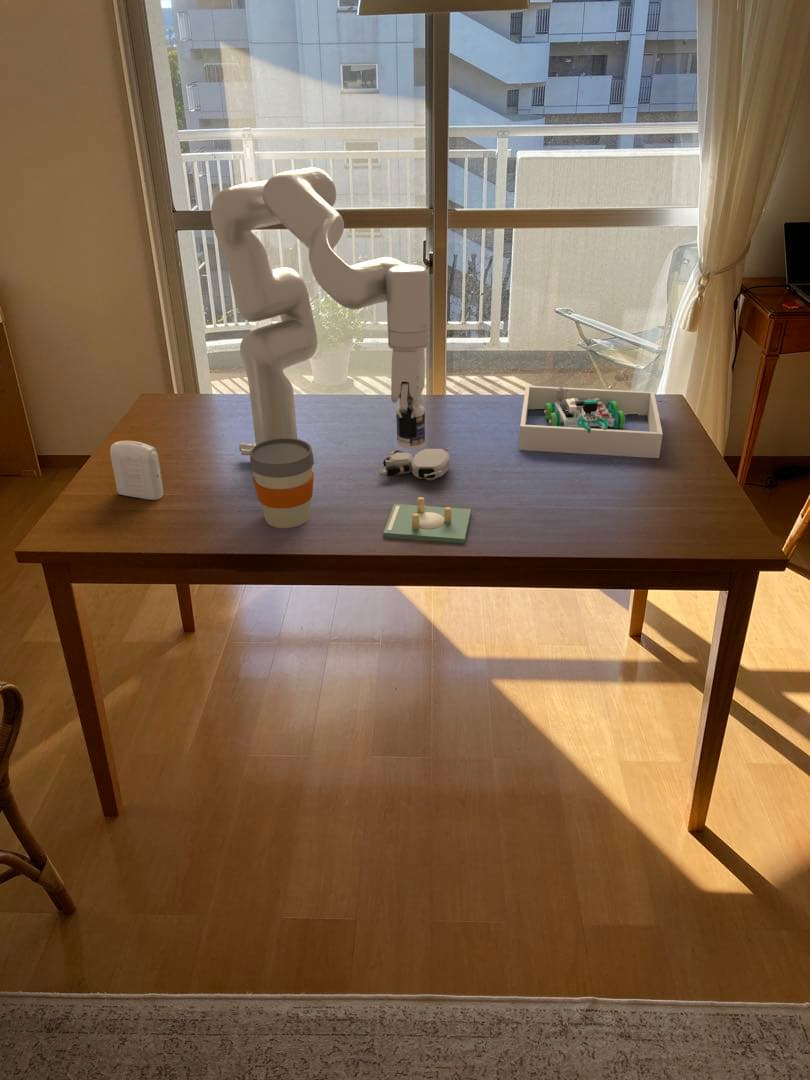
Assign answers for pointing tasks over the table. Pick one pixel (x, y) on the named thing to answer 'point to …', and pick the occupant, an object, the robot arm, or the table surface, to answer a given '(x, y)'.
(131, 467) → the photo printer
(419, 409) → the pill bottle
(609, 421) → the robot kit
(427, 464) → the robot toy
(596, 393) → the storage frame
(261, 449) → the reusable coffee cup
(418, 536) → the board
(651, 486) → the table surface
